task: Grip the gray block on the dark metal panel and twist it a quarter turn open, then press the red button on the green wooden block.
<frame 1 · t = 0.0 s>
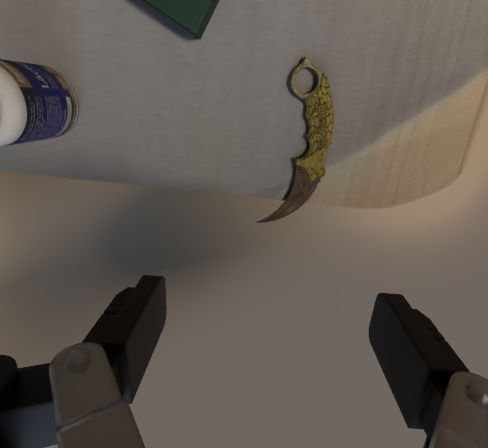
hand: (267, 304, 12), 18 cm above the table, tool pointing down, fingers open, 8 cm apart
pill bottle: (49, 102, 27), on the table
knife: (270, 145, 27), on the table
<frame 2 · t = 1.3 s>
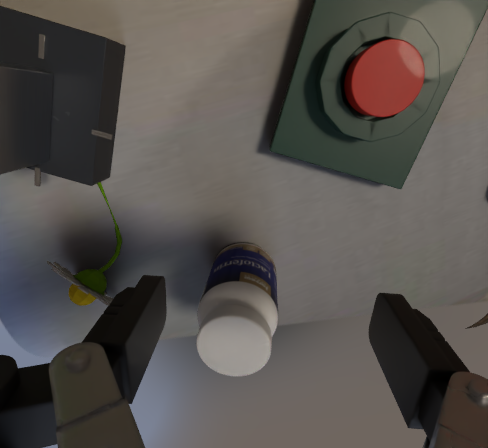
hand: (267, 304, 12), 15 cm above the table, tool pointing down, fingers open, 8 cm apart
decorative flower: (90, 228, 29), on the table
button: (382, 80, 18), point 4 cm above the table, slide at 0.1 cm
button block: (360, 84, 23), on the table
pill bottle: (244, 268, 29), on the table
gray block: (11, 118, 19), point 6 cm above the table, hinge at 0.0°
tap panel: (41, 94, 24), on the table
knife: (476, 257, 26), on the table
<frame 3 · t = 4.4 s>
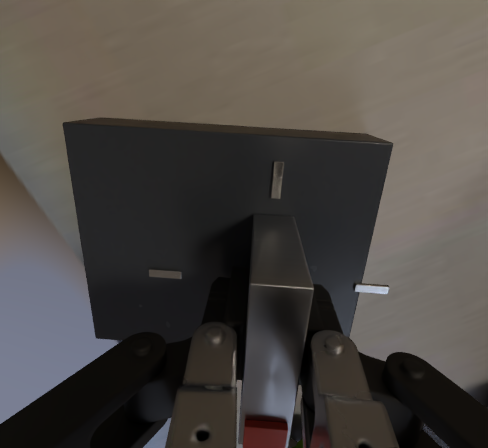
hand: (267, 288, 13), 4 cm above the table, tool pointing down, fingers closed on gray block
gray block: (269, 320, 11), point 6 cm above the table, hinge at 0.0°, touching gripper
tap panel: (228, 228, 16), on the table
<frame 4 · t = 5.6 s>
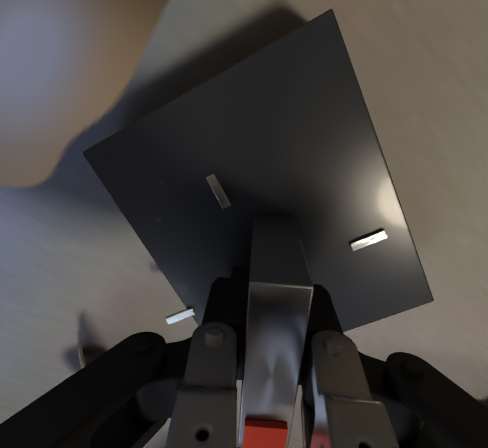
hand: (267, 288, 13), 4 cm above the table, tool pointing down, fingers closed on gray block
gray block: (269, 320, 11), point 6 cm above the table, hinge at 60.0°, touching gripper
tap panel: (267, 207, 15), on the table
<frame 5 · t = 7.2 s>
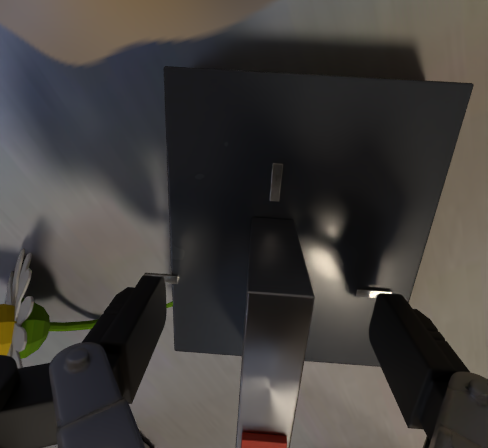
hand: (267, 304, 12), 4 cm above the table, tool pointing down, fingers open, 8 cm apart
decorative flower: (115, 268, 18), on the table, touching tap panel
gray block: (267, 328, 11), point 6 cm above the table, hinge at 89.7°
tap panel: (289, 216, 15), on the table
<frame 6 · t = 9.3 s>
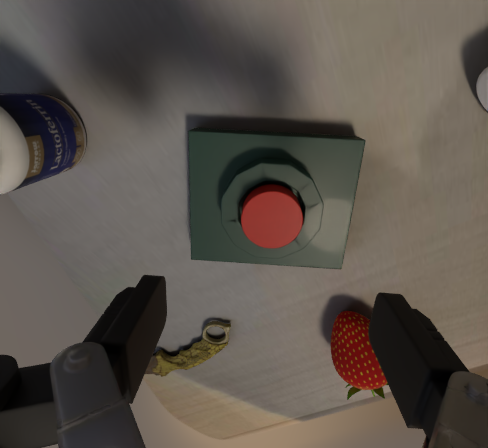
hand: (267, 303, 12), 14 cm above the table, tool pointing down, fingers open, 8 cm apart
fruit: (347, 308, 28), point 1 cm above the table
button: (271, 216, 21), point 4 cm above the table, slide at 0.1 cm
button block: (269, 196, 25), on the table
pill bottle: (54, 133, 24), on the table
knife: (156, 332, 31), on the table
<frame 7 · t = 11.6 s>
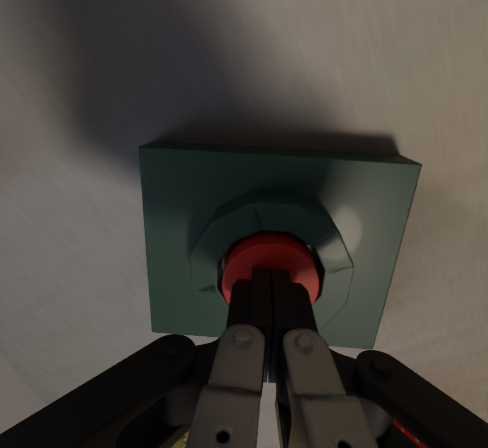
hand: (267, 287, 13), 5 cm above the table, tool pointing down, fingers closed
button: (269, 276, 14), point 4 cm above the table, slide at -0.7 cm, touching gripper
button block: (268, 240, 17), on the table
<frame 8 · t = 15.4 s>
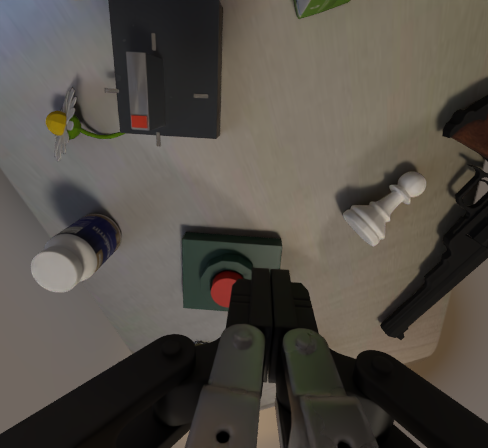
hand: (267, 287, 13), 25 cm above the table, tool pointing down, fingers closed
decorative flower: (111, 107, 35), on the table, touching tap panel
button: (228, 289, 37), point 4 cm above the table, slide at 0.1 cm
revolver: (385, 195, 36), point 1 cm above the table
button block: (231, 269, 41), on the table
chess pawn: (355, 231, 36), point 3 cm above the table
pill bottle: (101, 232, 41), on the table
gray block: (147, 93, 29), point 6 cm above the table, hinge at 89.7°
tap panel: (173, 73, 33), on the table
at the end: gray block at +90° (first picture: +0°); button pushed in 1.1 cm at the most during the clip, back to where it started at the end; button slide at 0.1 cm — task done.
